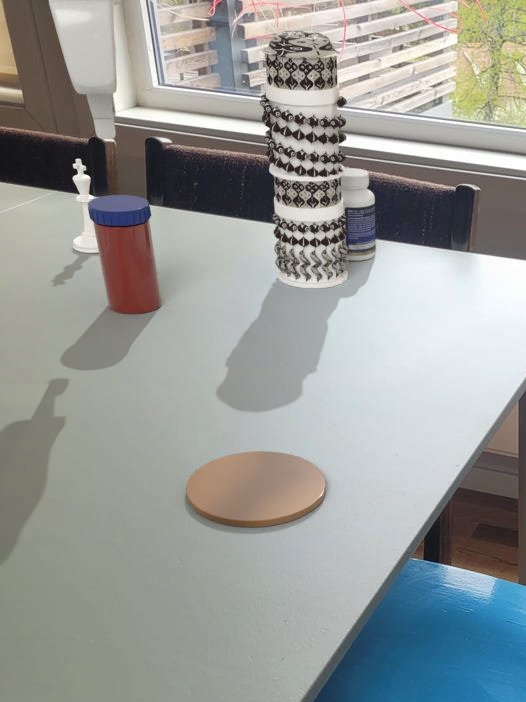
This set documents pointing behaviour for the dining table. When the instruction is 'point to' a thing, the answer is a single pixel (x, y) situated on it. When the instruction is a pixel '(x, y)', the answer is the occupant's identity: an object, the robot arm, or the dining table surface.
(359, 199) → the pill bottle
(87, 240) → the chess piece
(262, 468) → the coaster
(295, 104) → the decorative candle
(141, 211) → the lid
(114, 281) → the jar
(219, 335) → the dining table surface
